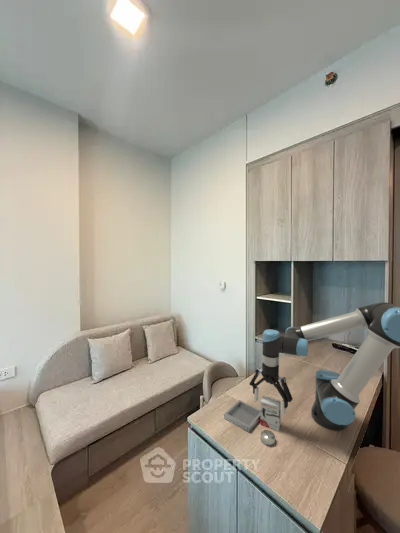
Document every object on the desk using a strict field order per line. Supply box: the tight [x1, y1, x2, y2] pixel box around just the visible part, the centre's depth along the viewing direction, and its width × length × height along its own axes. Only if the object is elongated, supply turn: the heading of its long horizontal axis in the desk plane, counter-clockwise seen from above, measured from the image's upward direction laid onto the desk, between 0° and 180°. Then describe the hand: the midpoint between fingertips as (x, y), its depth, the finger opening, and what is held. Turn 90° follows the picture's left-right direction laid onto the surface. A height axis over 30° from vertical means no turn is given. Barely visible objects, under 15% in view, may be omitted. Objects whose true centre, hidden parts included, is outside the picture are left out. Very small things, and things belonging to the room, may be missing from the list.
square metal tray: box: [223, 399, 261, 434], centre depth 111 cm, size 14×14×2 cm
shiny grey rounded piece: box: [260, 429, 276, 447], centre depth 97 cm, size 6×6×2 cm
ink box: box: [260, 395, 282, 431], centre depth 106 cm, size 8×5×12 cm, turn 60°
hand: (269, 406), depth 106 cm, fingers open, 13 cm apart
